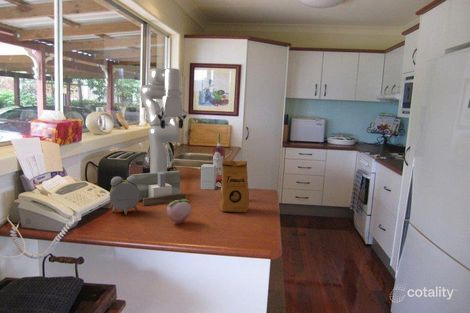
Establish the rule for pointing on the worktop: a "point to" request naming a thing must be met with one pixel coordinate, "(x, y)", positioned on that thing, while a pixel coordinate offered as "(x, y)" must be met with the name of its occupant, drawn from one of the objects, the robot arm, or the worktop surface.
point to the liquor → (218, 158)
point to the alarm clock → (124, 193)
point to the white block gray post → (159, 187)
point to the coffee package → (234, 187)
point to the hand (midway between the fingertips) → (171, 128)
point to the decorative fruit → (179, 210)
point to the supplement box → (208, 176)
